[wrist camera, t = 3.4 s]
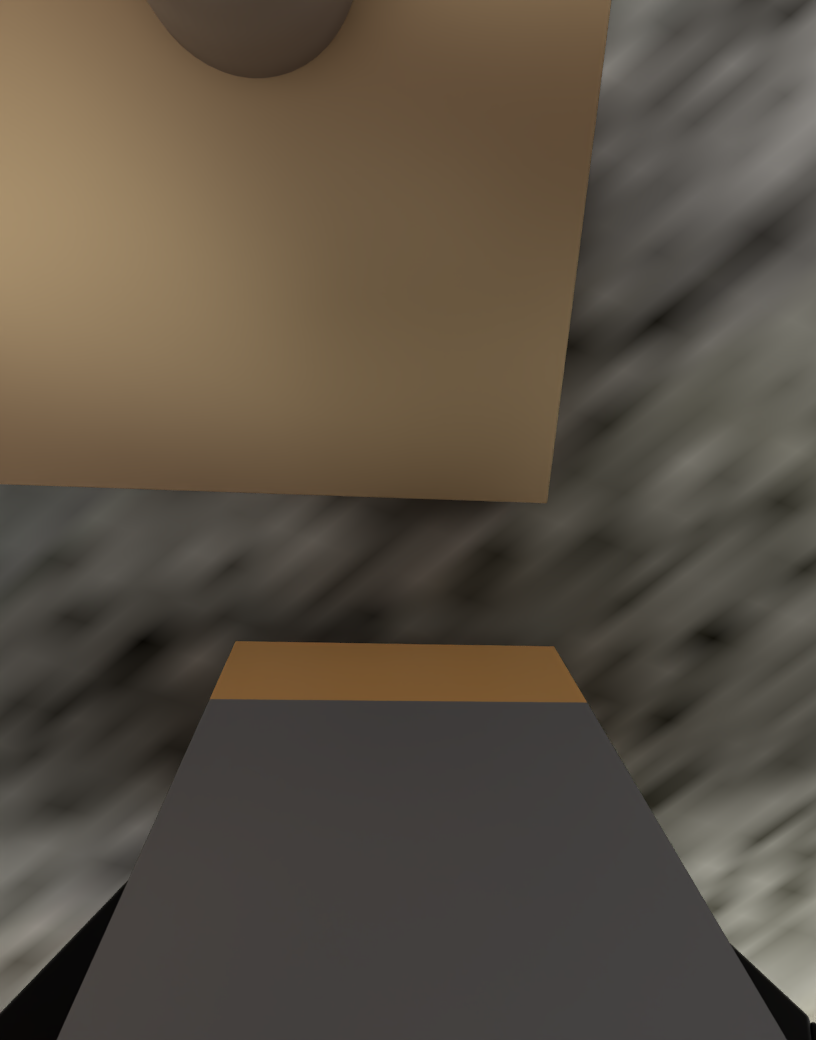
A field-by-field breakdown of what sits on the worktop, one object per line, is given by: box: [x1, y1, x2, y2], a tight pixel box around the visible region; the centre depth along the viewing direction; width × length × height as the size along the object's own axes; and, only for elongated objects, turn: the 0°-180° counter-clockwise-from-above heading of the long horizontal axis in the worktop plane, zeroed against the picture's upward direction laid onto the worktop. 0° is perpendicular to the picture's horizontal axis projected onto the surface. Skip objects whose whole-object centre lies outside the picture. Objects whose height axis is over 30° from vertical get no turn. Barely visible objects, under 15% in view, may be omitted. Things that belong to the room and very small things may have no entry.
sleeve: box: [57, 641, 787, 1040], centre depth 7 cm, size 5×5×6 cm
